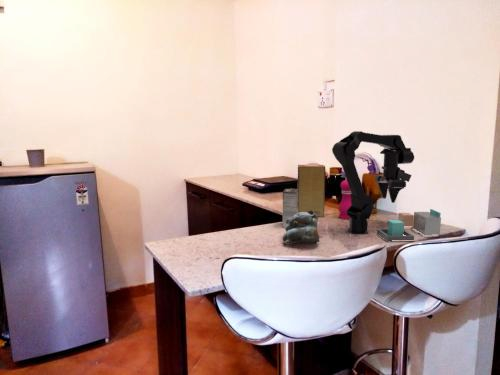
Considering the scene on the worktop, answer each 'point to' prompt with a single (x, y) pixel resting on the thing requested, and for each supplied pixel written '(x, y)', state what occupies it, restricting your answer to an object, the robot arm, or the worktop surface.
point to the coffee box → (290, 204)
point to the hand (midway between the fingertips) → (388, 200)
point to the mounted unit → (427, 222)
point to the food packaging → (311, 189)
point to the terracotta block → (406, 218)
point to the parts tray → (389, 238)
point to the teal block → (395, 228)
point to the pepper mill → (345, 200)
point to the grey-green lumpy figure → (301, 228)
